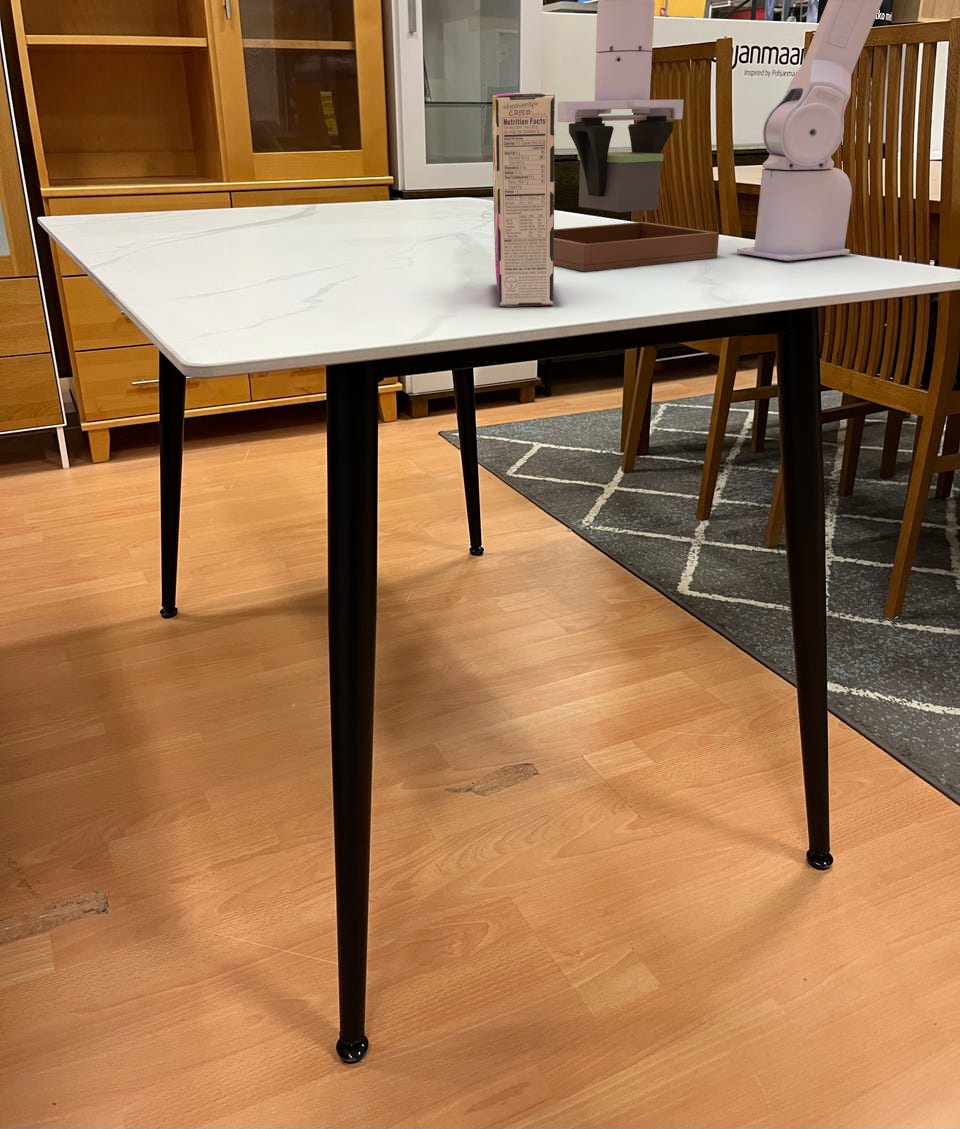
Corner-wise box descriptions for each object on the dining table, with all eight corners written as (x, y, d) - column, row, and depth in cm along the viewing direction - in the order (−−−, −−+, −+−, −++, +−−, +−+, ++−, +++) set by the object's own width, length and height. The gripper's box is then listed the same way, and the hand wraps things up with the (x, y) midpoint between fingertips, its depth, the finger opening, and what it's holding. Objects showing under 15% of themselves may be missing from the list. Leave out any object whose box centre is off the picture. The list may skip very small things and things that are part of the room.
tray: (641, 244, 116) (643, 221, 115) (717, 257, 105) (719, 232, 104) (516, 256, 109) (516, 232, 108) (583, 271, 98) (584, 245, 97)
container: (616, 203, 109) (618, 151, 107) (660, 209, 103) (664, 153, 100) (576, 206, 107) (577, 153, 105) (618, 212, 100) (620, 155, 98)
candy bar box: (493, 285, 91) (491, 93, 84) (545, 284, 91) (548, 92, 84) (495, 307, 81) (493, 91, 74) (554, 306, 81) (558, 90, 74)
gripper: (584, 50, 92) (580, 200, 98) (705, 51, 98) (694, 193, 104) (547, 54, 98) (545, 196, 104) (663, 54, 104) (656, 189, 110)
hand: (617, 194), depth 104 cm, fingers closed on container, 5 cm apart
